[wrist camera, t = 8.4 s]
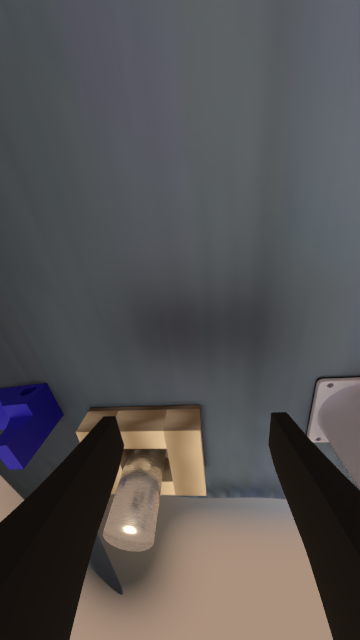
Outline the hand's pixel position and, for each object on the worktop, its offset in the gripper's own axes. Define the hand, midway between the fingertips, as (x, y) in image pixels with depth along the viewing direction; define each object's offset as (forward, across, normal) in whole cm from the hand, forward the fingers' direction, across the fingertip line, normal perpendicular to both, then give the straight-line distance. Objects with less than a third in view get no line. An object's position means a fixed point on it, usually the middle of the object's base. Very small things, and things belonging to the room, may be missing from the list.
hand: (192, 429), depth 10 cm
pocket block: (+9, +6, +13) cm, 17 cm away
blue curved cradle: (+10, +22, +7) cm, 25 cm away
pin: (+9, +6, +13) cm, 17 cm away
